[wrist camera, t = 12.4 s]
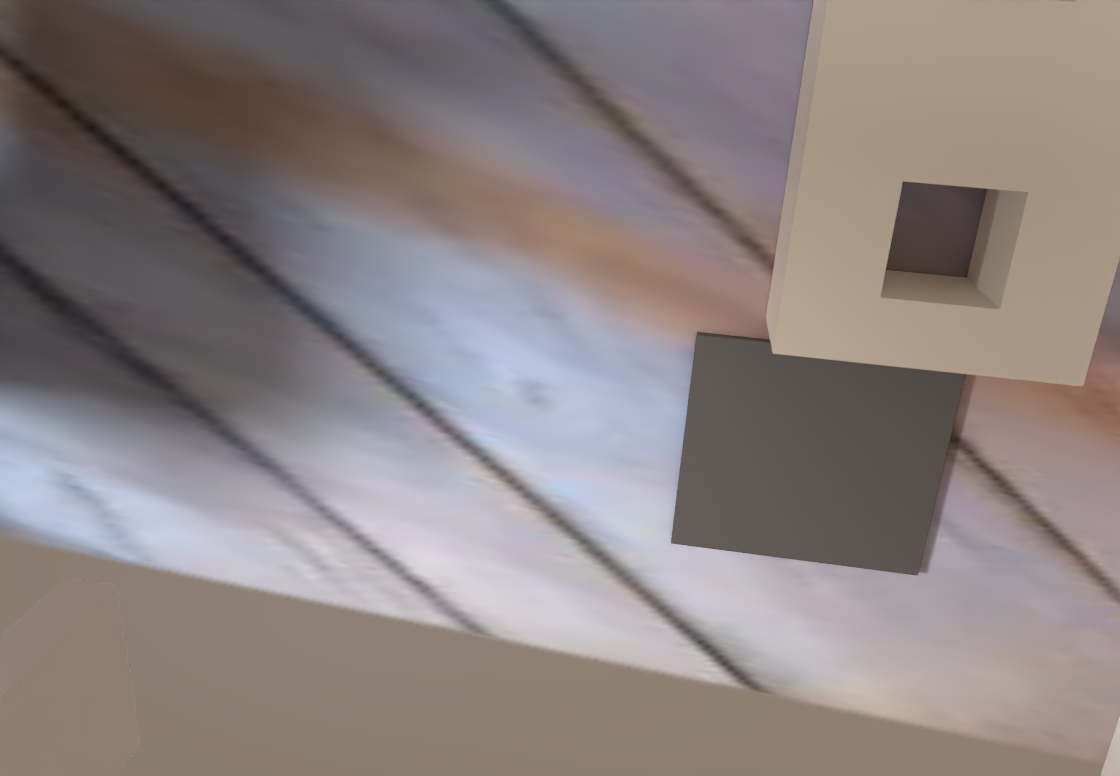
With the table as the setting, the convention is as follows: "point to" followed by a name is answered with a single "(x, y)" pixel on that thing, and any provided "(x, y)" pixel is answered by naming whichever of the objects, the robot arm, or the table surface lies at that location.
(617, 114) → the table surface
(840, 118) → the hole block
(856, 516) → the mat
